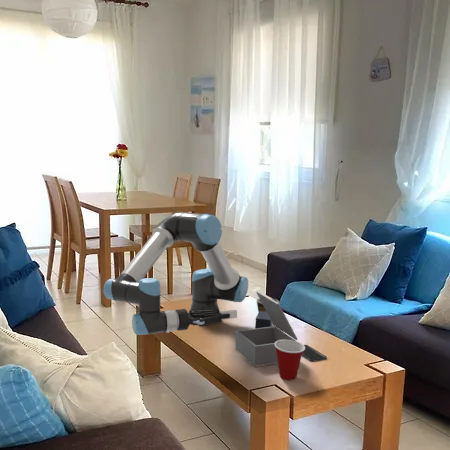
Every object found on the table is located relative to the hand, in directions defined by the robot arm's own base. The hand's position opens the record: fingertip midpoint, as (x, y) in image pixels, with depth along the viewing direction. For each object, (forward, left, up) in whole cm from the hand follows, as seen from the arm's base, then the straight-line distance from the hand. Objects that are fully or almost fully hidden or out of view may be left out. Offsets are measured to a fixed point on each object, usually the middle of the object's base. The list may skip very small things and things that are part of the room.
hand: (236, 313), depth 212 cm
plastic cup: (+21, +11, -18) cm, 30 cm away
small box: (-17, +20, -18) cm, 32 cm away
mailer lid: (0, +17, -2) cm, 17 cm away
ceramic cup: (-38, +31, -18) cm, 53 cm away
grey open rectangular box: (0, +12, -18) cm, 22 cm away
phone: (+4, +29, -19) cm, 35 cm away
